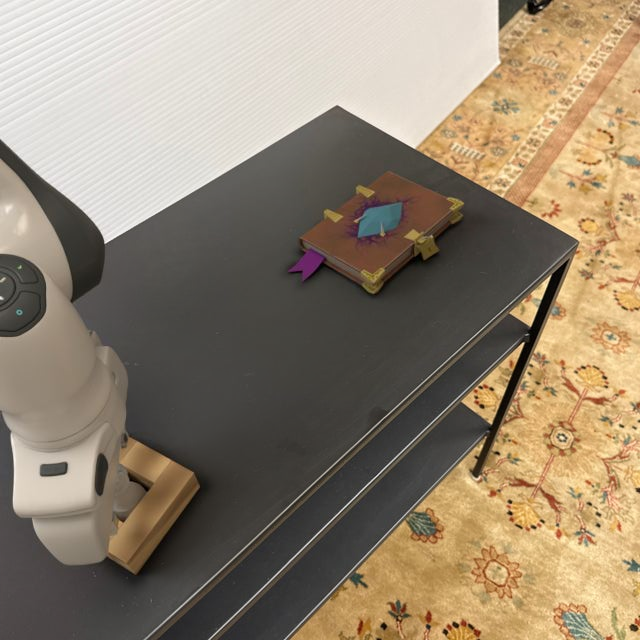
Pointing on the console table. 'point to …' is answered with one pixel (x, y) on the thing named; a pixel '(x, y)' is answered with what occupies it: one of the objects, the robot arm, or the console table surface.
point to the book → (378, 231)
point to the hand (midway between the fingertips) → (115, 484)
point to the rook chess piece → (126, 494)
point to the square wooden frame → (150, 504)
